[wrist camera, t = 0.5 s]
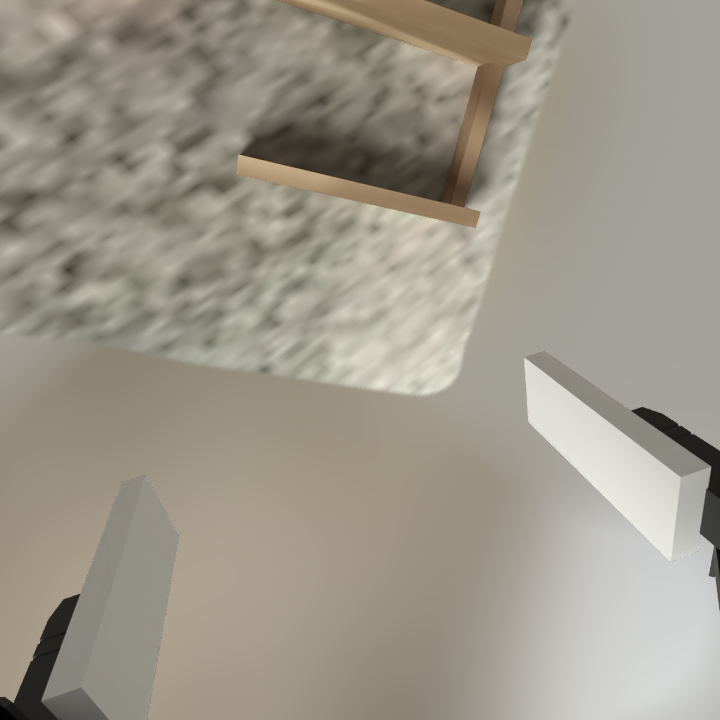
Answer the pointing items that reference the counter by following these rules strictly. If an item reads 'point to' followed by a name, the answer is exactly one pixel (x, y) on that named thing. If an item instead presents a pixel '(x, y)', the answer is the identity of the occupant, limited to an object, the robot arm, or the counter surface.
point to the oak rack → (438, 34)
